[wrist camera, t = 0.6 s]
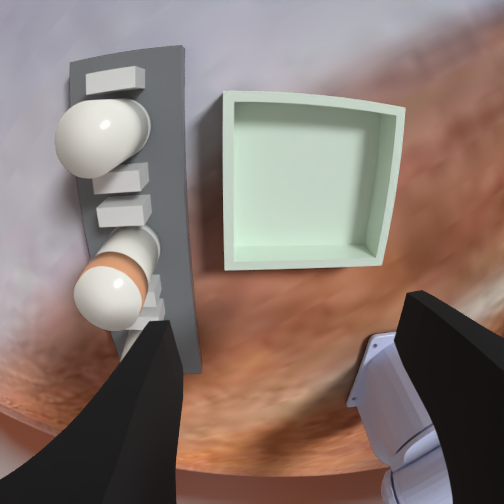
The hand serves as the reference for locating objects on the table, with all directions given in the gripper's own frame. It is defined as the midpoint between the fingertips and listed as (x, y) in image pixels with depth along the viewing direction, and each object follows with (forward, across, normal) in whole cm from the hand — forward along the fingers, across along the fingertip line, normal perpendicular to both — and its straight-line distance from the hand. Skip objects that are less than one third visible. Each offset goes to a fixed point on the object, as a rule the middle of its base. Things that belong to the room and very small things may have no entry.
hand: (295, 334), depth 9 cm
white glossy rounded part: (+9, +7, -6) cm, 12 cm away
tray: (+10, -3, -2) cm, 11 cm away
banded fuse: (+9, +7, +1) cm, 11 cm away
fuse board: (+10, +7, +1) cm, 12 cm away
